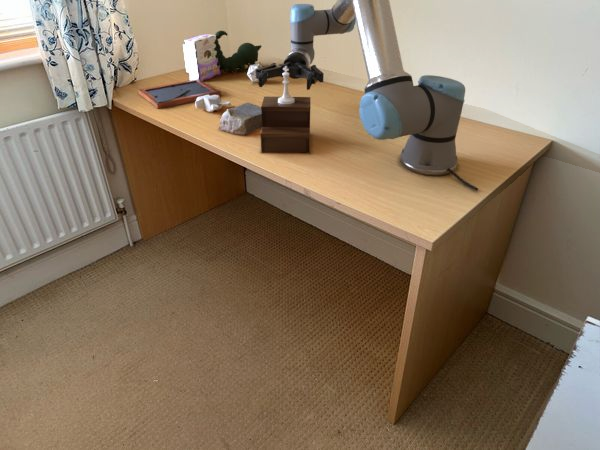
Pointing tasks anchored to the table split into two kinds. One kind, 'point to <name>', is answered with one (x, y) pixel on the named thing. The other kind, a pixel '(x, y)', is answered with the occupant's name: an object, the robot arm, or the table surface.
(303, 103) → the step shelf
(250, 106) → the geological specimen
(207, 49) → the candy box
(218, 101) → the bunny figurine
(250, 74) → the game die
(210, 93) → the picture frame
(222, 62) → the toy figurine
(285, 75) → the chess piece
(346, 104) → the table surface
